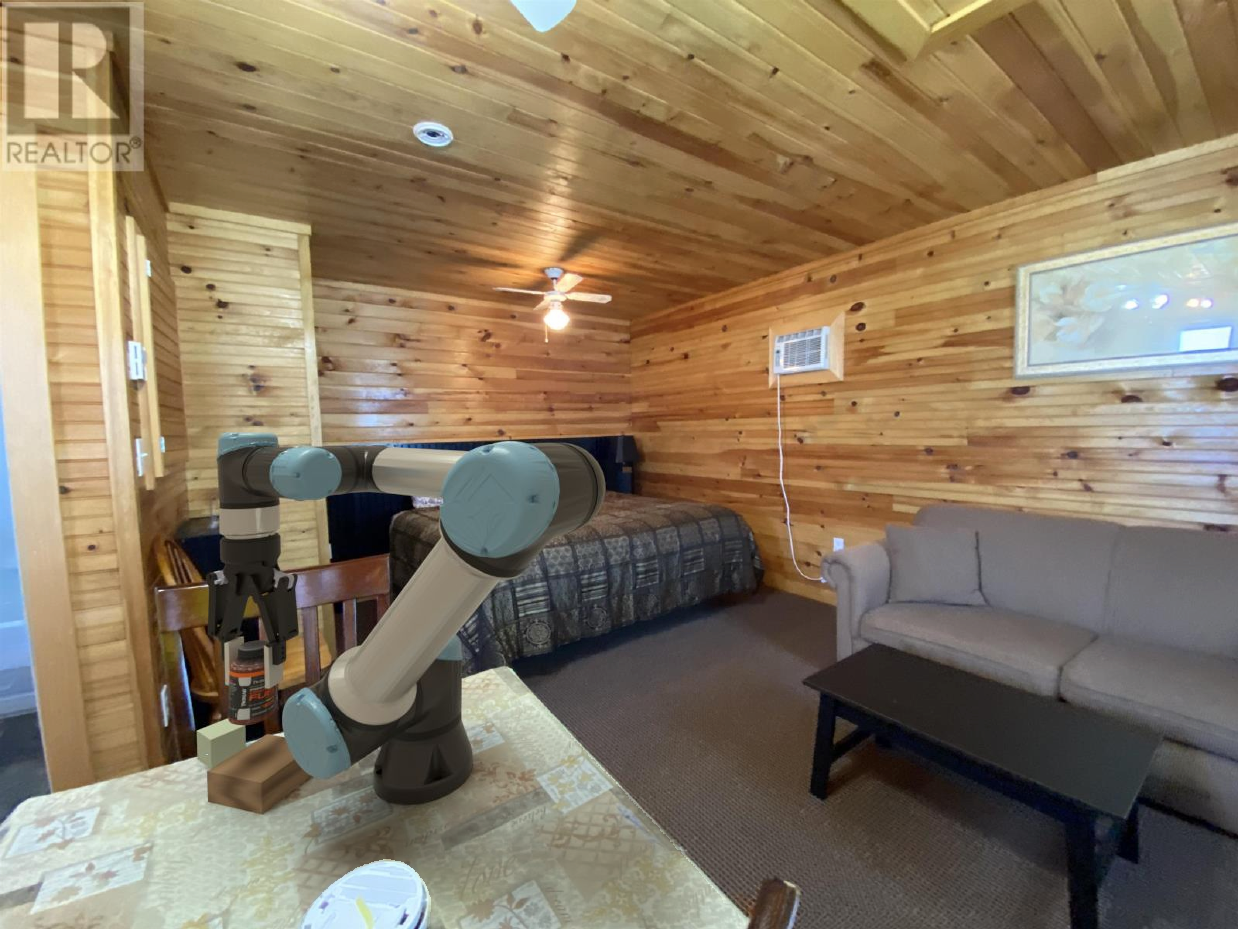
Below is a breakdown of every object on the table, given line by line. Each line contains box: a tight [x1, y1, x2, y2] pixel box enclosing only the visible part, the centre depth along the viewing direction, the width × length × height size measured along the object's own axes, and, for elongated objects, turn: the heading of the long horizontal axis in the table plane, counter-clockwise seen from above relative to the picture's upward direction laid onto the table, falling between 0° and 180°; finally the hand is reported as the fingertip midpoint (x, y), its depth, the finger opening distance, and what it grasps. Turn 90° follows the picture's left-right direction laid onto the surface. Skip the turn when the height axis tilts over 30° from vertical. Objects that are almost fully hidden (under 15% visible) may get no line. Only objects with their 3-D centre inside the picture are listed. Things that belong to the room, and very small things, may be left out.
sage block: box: [196, 717, 247, 769], centre depth 88 cm, size 5×5×5 cm
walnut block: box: [206, 733, 313, 815], centre depth 81 cm, size 10×10×5 cm
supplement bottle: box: [227, 639, 277, 726], centre depth 80 cm, size 6×6×11 cm
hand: (254, 682), depth 80 cm, fingers closed on supplement bottle, 6 cm apart
